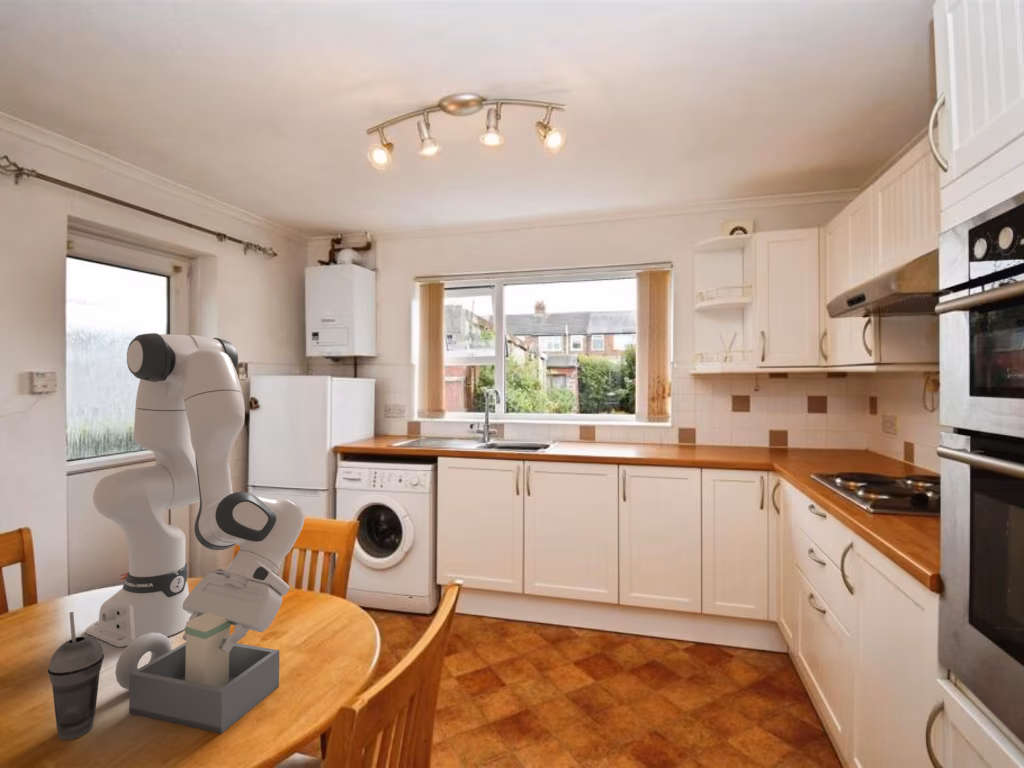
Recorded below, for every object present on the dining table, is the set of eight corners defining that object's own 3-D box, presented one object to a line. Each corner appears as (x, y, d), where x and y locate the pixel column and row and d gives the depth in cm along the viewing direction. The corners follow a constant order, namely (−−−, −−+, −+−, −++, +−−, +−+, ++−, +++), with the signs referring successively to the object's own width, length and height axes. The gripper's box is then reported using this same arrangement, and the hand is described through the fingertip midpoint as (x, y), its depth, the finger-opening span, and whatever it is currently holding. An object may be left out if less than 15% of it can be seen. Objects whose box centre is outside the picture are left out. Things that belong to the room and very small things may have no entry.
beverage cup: (70, 749, 82) (72, 625, 82) (34, 742, 84) (36, 620, 84) (114, 720, 89) (115, 605, 89) (80, 714, 91) (81, 601, 91)
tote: (129, 712, 91) (129, 673, 91) (196, 670, 105) (196, 636, 105) (221, 733, 86) (221, 692, 86) (279, 686, 100) (279, 650, 100)
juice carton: (183, 697, 94) (185, 622, 94) (209, 682, 99) (211, 610, 99) (203, 705, 92) (205, 627, 92) (229, 689, 97) (230, 615, 97)
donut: (122, 703, 94) (123, 649, 94) (110, 699, 95) (110, 645, 95) (175, 674, 103) (176, 625, 103) (163, 670, 105) (164, 622, 104)
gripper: (203, 560, 106) (155, 628, 97) (278, 575, 98) (233, 650, 89) (222, 574, 110) (177, 640, 101) (296, 589, 102) (254, 663, 93)
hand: (204, 645), depth 95 cm, fingers open, 8 cm apart
